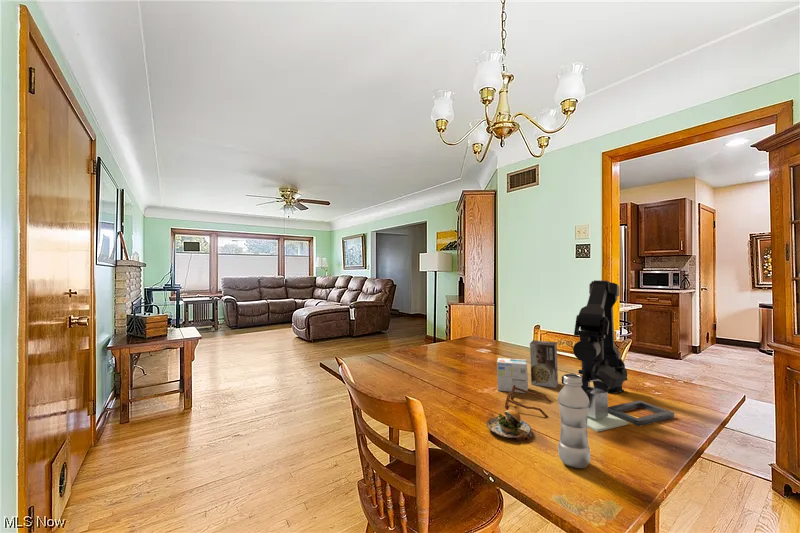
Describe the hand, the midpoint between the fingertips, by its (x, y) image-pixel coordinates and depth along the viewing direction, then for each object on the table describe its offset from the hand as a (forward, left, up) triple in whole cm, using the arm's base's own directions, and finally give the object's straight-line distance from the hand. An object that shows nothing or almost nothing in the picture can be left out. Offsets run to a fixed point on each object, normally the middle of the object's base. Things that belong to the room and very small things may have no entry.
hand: (593, 407), depth 98 cm
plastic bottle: (+15, -24, -4) cm, 29 cm away
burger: (-3, -28, -4) cm, 29 cm away
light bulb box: (-29, -6, -4) cm, 30 cm away
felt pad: (0, 0, -4) cm, 4 cm away
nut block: (0, 0, -2) cm, 2 cm away
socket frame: (+3, +15, -4) cm, 16 cm away
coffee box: (-29, +9, -4) cm, 31 cm away
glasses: (-15, -11, -4) cm, 19 cm away
